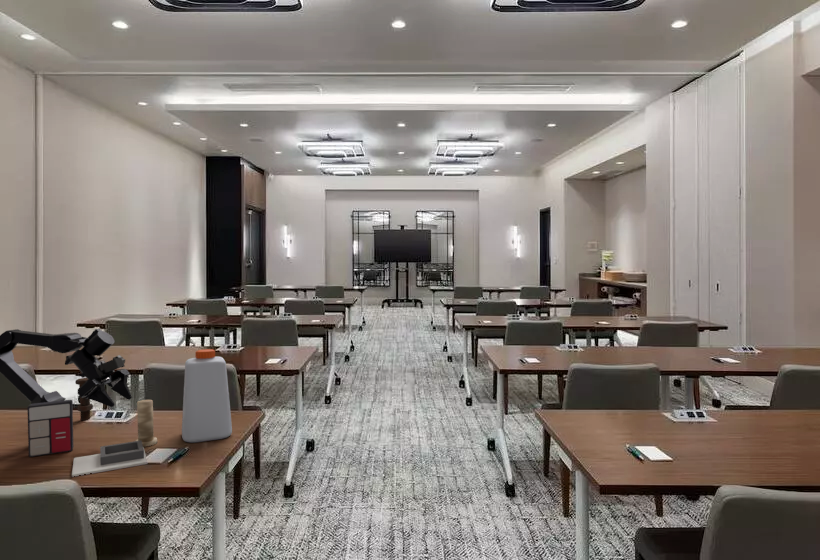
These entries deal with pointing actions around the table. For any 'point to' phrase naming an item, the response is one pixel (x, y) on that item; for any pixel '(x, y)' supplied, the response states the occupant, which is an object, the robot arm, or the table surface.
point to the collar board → (111, 458)
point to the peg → (145, 423)
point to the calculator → (50, 427)
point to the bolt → (84, 402)
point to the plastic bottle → (206, 398)
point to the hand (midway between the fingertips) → (122, 402)
